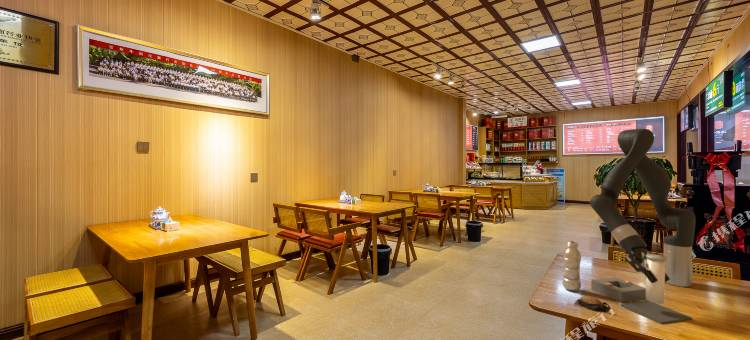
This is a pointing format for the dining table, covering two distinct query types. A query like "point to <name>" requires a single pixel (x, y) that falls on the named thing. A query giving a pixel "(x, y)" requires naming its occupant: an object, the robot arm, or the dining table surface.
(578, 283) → the plastic bottle
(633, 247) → the robot arm
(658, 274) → the cylinder
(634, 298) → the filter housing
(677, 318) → the rubber mat
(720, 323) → the dining table surface
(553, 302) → the dining table surface
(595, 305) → the dark brown curved piece
